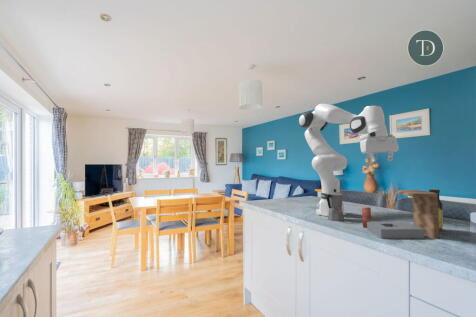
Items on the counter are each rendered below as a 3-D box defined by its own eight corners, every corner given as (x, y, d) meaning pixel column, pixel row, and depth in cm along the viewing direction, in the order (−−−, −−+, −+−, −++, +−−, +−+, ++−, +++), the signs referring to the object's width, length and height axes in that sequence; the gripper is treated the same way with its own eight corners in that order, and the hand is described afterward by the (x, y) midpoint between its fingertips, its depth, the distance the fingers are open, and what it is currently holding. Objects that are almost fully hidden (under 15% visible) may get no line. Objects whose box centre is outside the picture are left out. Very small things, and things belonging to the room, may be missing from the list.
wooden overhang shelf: (396, 229, 120) (395, 190, 120) (418, 229, 119) (416, 189, 119) (414, 238, 106) (412, 193, 106) (439, 238, 105) (437, 193, 105)
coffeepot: (334, 216, 152) (333, 187, 153) (349, 218, 145) (347, 188, 145) (320, 220, 142) (319, 189, 143) (335, 223, 135) (334, 191, 136)
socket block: (367, 229, 121) (366, 221, 121) (405, 229, 119) (405, 221, 120) (381, 238, 107) (380, 229, 107) (424, 238, 106) (424, 229, 106)
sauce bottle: (423, 229, 119) (421, 188, 120) (431, 227, 122) (429, 187, 122) (438, 232, 113) (436, 190, 114) (446, 230, 115) (444, 189, 116)
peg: (361, 226, 128) (360, 207, 128) (369, 226, 128) (368, 207, 128) (364, 228, 124) (363, 208, 124) (372, 228, 124) (372, 208, 124)
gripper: (389, 136, 131) (394, 161, 129) (356, 137, 126) (361, 163, 124) (399, 132, 125) (404, 159, 123) (365, 133, 120) (369, 161, 118)
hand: (382, 161), depth 123 cm, fingers open, 8 cm apart
